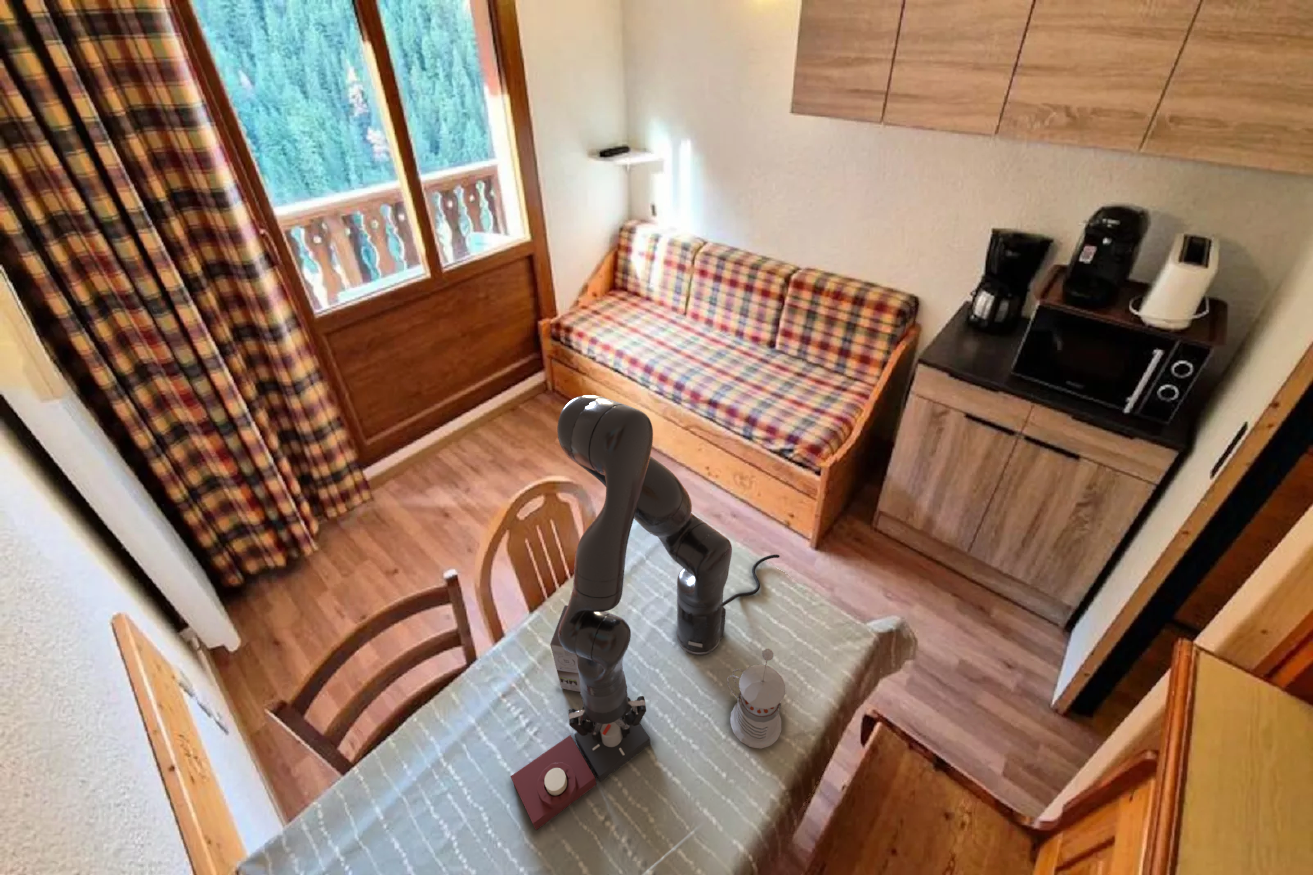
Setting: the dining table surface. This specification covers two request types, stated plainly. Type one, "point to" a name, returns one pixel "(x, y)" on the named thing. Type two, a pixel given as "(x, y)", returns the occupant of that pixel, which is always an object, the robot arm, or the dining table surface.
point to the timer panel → (612, 750)
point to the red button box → (533, 781)
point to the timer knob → (611, 734)
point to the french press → (758, 704)
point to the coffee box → (565, 662)
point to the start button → (555, 781)
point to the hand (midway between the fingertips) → (611, 734)
